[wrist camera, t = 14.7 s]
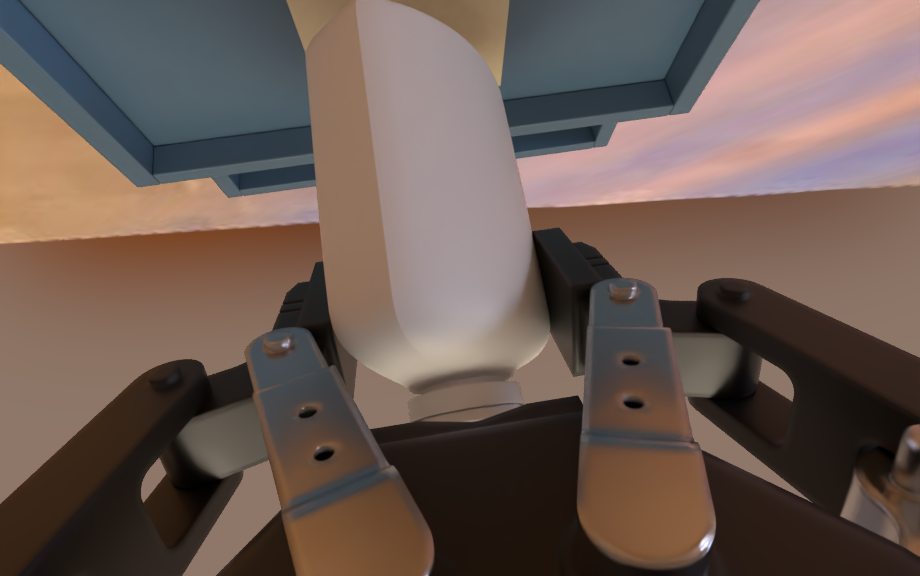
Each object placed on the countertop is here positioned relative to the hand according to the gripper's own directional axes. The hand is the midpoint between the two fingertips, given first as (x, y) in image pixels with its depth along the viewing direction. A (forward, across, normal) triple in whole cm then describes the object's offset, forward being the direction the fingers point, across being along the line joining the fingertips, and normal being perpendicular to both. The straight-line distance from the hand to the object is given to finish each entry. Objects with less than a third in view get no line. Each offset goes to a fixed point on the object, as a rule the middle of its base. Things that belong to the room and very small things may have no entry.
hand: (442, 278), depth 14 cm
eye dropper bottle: (+3, 0, -5) cm, 6 cm away
